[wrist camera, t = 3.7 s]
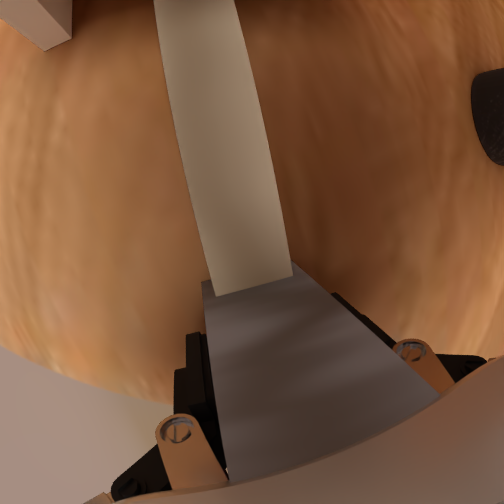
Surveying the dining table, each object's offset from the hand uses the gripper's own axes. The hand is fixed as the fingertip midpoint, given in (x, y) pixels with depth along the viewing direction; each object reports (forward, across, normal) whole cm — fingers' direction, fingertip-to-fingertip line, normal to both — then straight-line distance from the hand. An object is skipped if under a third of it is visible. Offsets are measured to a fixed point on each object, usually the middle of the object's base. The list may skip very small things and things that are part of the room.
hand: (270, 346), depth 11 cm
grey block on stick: (+2, 0, -8) cm, 8 cm away
